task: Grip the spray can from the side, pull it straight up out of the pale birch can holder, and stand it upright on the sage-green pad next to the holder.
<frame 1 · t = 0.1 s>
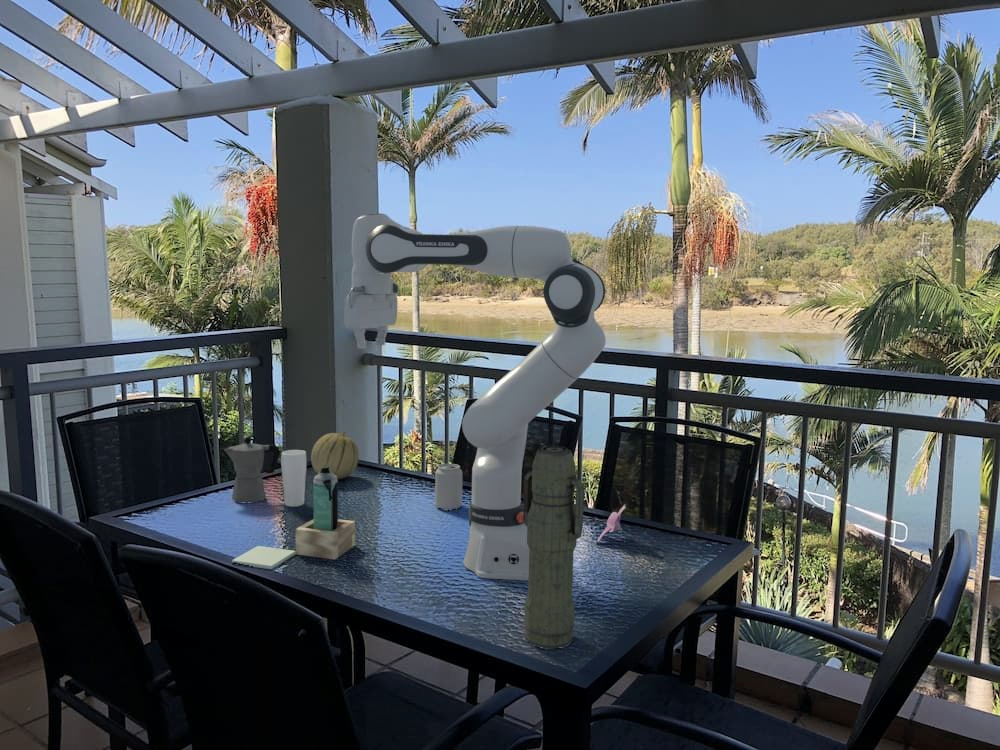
hand: (371, 346, 181), 48 cm above the table, tool pointing down, fingers open, 8 cm apart
can: (448, 508, 221), on the table
olive green cylinder: (548, 639, 143), on the table
drinking glass: (294, 505, 220), on the table
sage pad: (264, 558, 179), on the table
spray can: (326, 550, 185), resting in can holder
can holder: (325, 549, 185), on the table
cantaloupe: (335, 479, 249), on the table
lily: (612, 541, 196), on the table
coffeepot: (253, 499, 225), on the table
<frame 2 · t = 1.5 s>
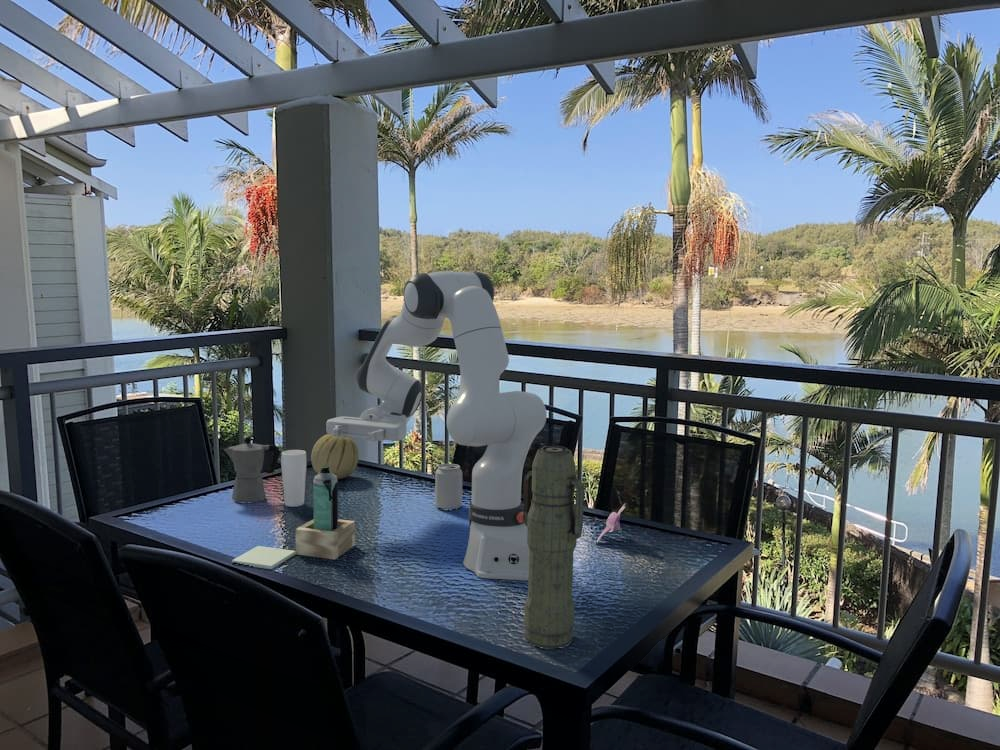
hand: (352, 434, 195), 25 cm above the table, tool horizontal, fingers open, 8 cm apart
nothing on the table moved.
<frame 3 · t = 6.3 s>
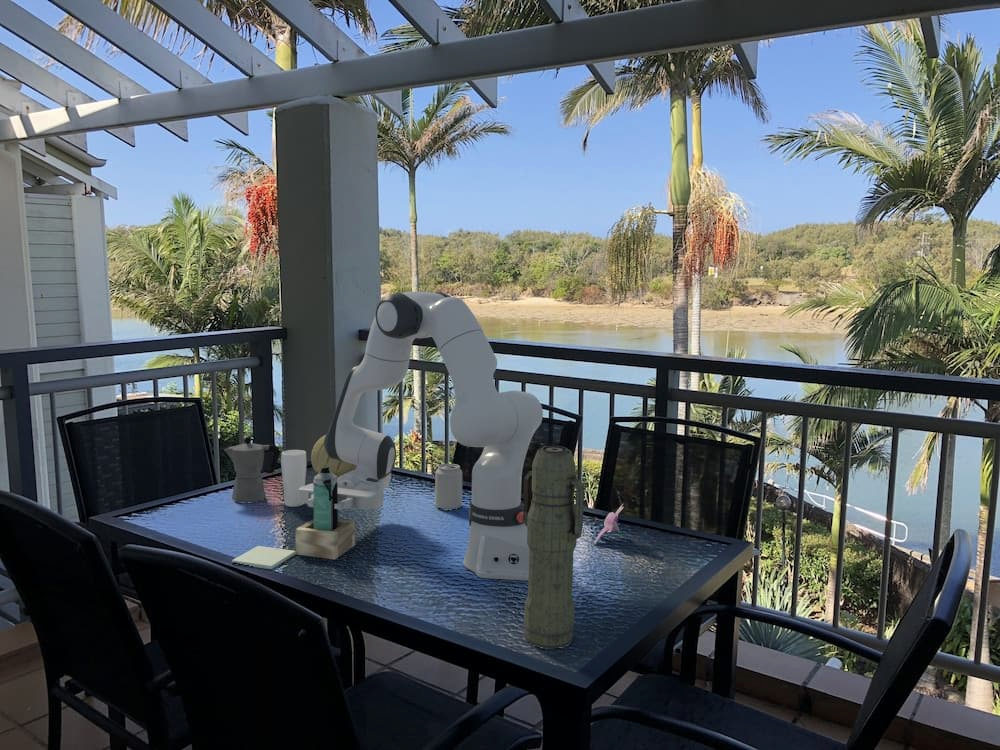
hand: (323, 505, 183), 11 cm above the table, tool horizontal, fingers closed on spray can, 5 cm apart
spray can: (325, 550, 185), resting in can holder, touching gripper
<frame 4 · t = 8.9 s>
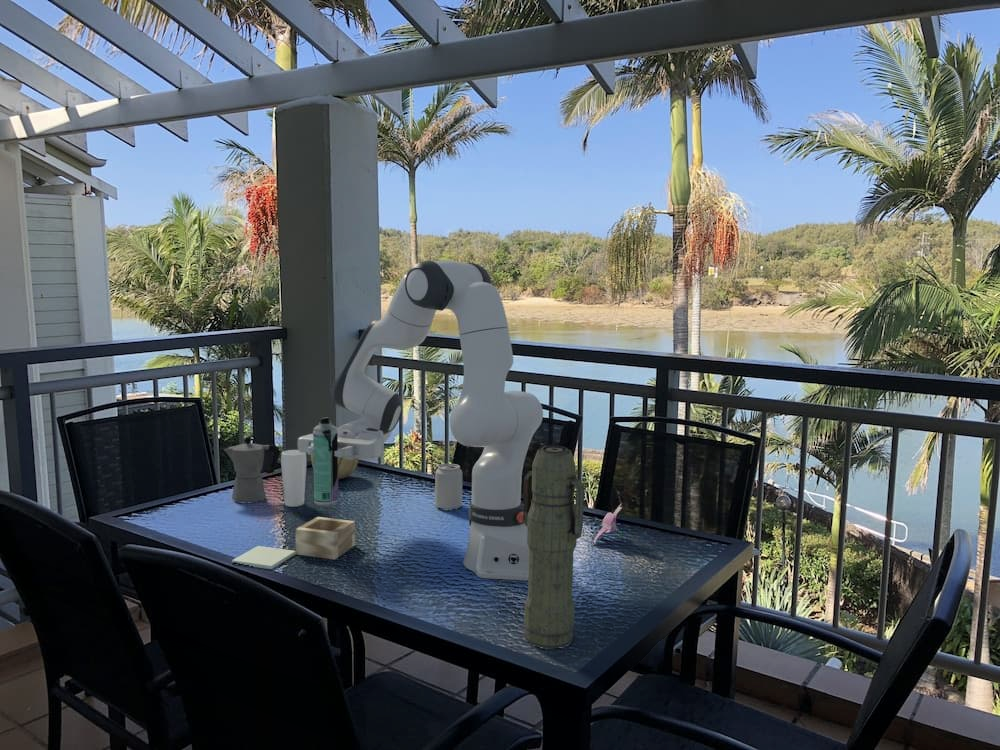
hand: (323, 452, 181), 24 cm above the table, tool horizontal, fingers closed on spray can, 5 cm apart
spray can: (326, 502, 184), point 11 cm above the table, touching gripper
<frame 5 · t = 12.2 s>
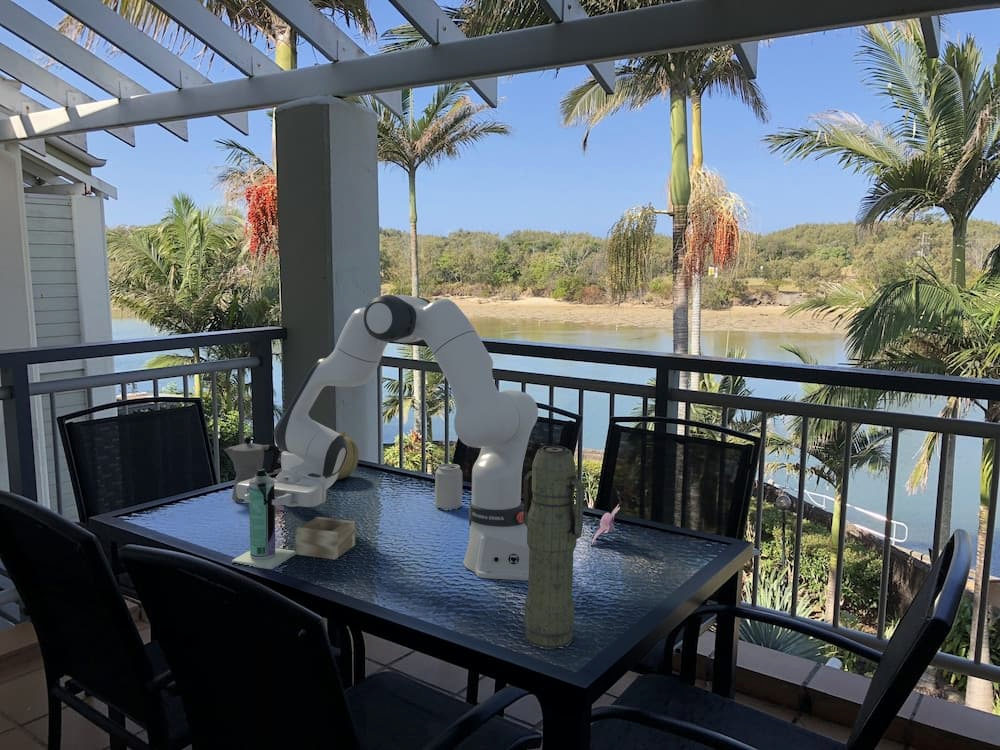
hand: (260, 501, 176), 14 cm above the table, tool horizontal, fingers closed on spray can, 5 cm apart
spray can: (262, 556, 178), point 1 cm above the table, touching gripper, sage pad
when the fingers open (13 cm above the table, at t = 13.2 s): spray can stays where it is, resting on sage pad.
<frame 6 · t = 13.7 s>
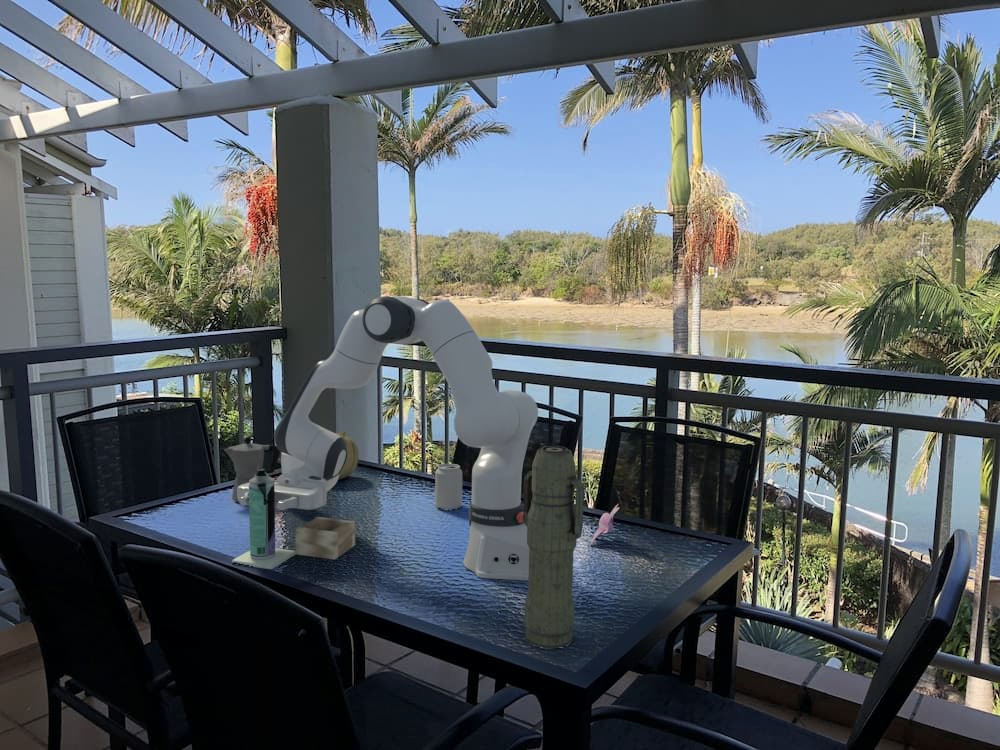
hand: (261, 504, 176), 13 cm above the table, tool horizontal, fingers open, 8 cm apart
spray can: (262, 556, 178), point 1 cm above the table, touching sage pad
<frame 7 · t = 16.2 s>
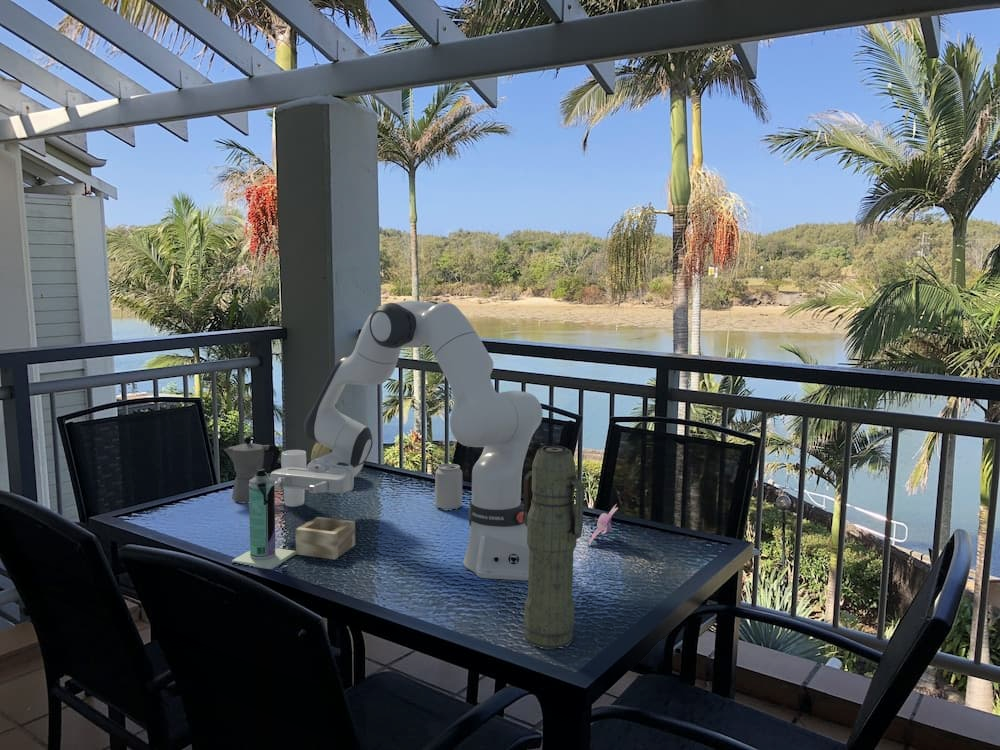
hand: (294, 488, 188), 13 cm above the table, tool horizontal, fingers open, 8 cm apart
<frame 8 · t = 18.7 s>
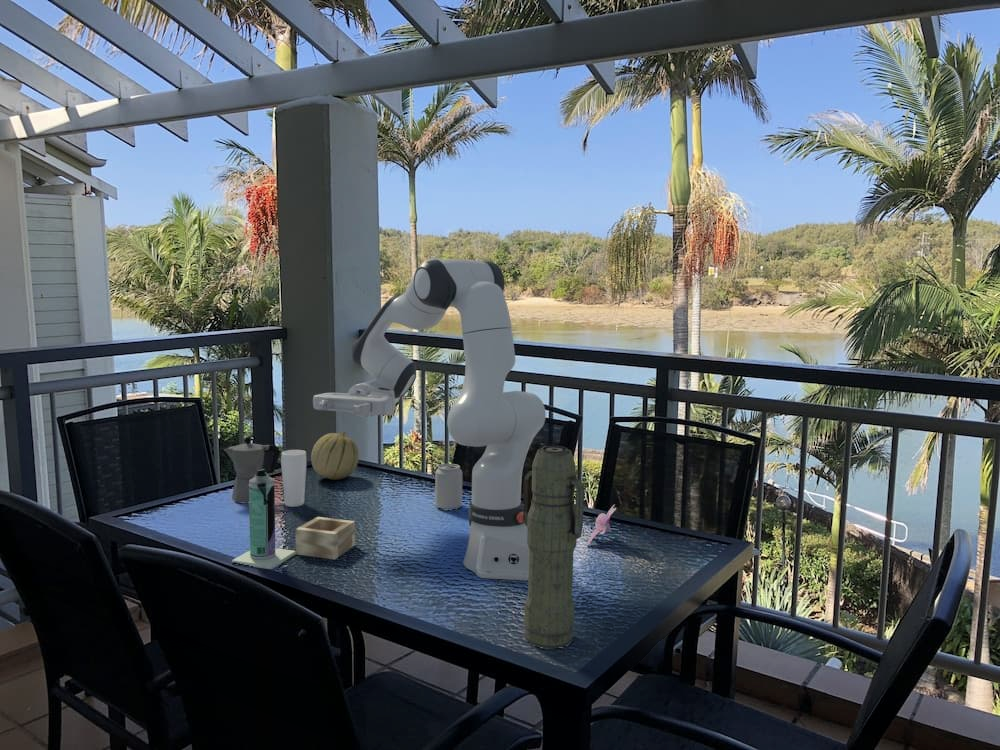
hand: (338, 408, 191), 32 cm above the table, tool horizontal, fingers open, 8 cm apart
at the end: spray can 0.4 cm off-centre on the sage pad, point 0.6 cm above the sage pad's base; spray can tilted 0°; the gripper is holding nothing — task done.
